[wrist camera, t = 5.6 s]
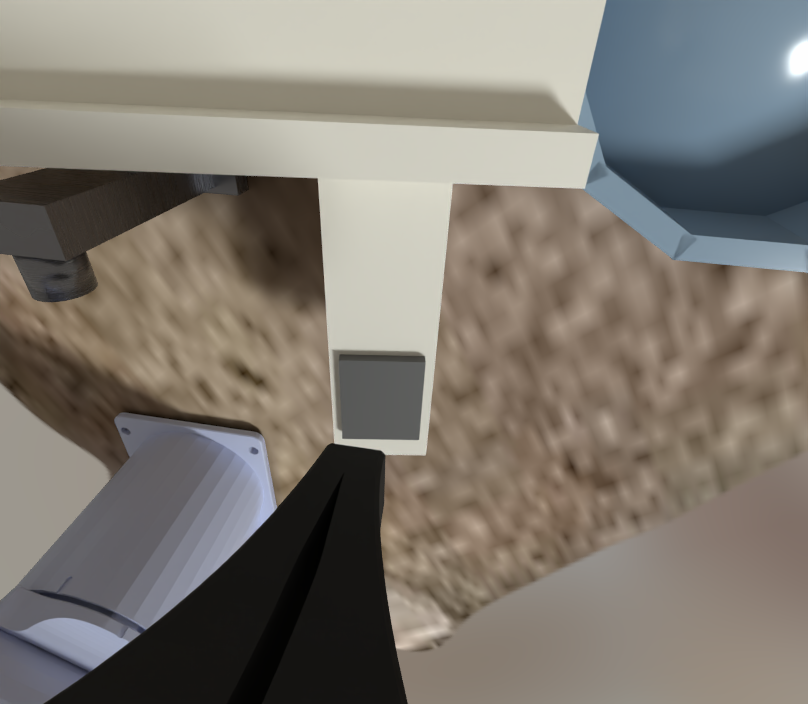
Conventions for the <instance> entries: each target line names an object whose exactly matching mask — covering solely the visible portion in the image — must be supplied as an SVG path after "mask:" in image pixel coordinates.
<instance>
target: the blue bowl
mask: <svg viewBox="0 0 808 704" xmlns="http://www.w3.org/2000/svg"><path fill="white" fill-rule="evenodd" d="M578 125H579V126H582V127H584V128H587V129H589V130H591V131H594V132H596V133H598V134H599V136H598V140H597V144H596V148H595V151H594V155H593V159H592V163H591V167H590V171H589V175H588V178H587V182H586V186H585V189H583V190H584V191H586V192H587V193H588V194H590V195H591V196H592V197H593V198H595V199H596V200H597V201H599V202H600V203H601V204H602V205H604V206H605V207H606V208H608V209H609V210H610V211H612V212H613V213H614V214H615V215H617V216H618V217H619V218H621V219H622V220H623V221H624V222H626V223H627V224H628V225H630V226H631V227H632V228H633V229H635V230H636V231H637V232H639V233H640V234H641V235H643V236H644V237H645V238H646V239H648V240H649V241H650V242H652V243H653V244H654V245H655V246H657V247H658V248H659V249H661V250H662V251H663V252H664V253H666V254H667V255H668V256H670V258H671V259H672V260H682V261H693V262H703V263H714V264H724V265H735V266H745V267H756V268H766V269H777V270H787V271H798V272H806V273H808V0H606V4H605V8H604V13H603V17H602V21H601V26H600V30H599V34H598V39H597V43H596V47H595V51H594V56H593V60H592V64H591V69H590V73H589V77H588V82H587V86H586V90H585V94H584V99H583V103H582V107H581V112H580V116H579V120H578Z"/></svg>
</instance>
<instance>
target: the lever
mask: <svg viewBox="0 0 808 704" xmlns="http://www.w3.org/2000/svg"><path fill="white" fill-rule="evenodd" d="M605 4H606V0H0V166H14V167H40V168H66V169H92V170H117V171H143V172H169V173H195V174H220V175H246V176H272V177H298V178H318V188H319V204H320V220H321V236H322V252H323V268H324V284H325V300H326V316H327V332H328V348H329V364H330V380H331V396H332V412H333V428H334V444H341V445H347V446H354V447H361V448H368V449H375V450H381V451H382V452H383V453H384V454H385V455H426V449H427V439H428V428H429V418H430V408H431V398H432V388H433V378H434V368H435V358H436V348H437V338H438V328H439V318H440V307H441V297H442V287H443V277H444V267H445V257H446V247H447V237H448V227H449V217H450V207H451V197H452V186H453V184H478V185H504V186H529V187H555V188H581V189H585V186H586V182H587V178H588V175H589V171H590V167H591V163H592V159H593V155H594V151H595V148H596V144H597V140H598V136H599V134H598V133H596V132H594V131H591V130H589V129H587V128H584V127H582V126H579V125H578V120H579V116H580V112H581V107H582V103H583V99H584V94H585V90H586V86H587V82H588V77H589V73H590V69H591V64H592V60H593V56H594V51H595V47H596V43H597V39H598V34H599V30H600V26H601V21H602V17H603V13H604V8H605Z"/></svg>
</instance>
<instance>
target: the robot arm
mask: <svg viewBox="0 0 808 704" xmlns="http://www.w3.org/2000/svg"><path fill="white" fill-rule="evenodd" d="M114 421H115V424H116V427H117V429H118V431H119V434H120V436H121V438H122V441H123V443H124V445H125V448H126V450H127V452H128V455H129V457H130V458H129V459H128V460H127V461H126V463H125V464H124V465H123V466H122V467H121V468H120V469H119V471H118V472H117V473H116V474H115V475H114V476H113V477H112V478H111V480H110V481H109V482H108V483H107V484H106V485H105V487H103V489H102V490H101V491H100V492H99V493H98V494H97V496H96V497H95V498H94V499H93V500H92V501H91V502H90V503H89V505H88V506H87V507H86V508H85V509H84V510H83V511H82V512H81V514H80V515H79V516H78V517H77V518H76V519H75V520H74V522H73V523H72V524H71V525H70V526H69V527H68V528H67V530H65V532H64V533H63V534H62V535H61V536H60V537H59V539H58V540H57V541H56V542H55V543H54V544H53V545H52V546H51V547H50V549H49V550H48V551H47V552H46V553H45V554H44V555H43V556H42V558H41V559H40V560H39V561H38V562H37V563H36V565H35V566H34V567H33V568H32V569H31V570H30V571H29V572H28V574H27V575H26V576H25V577H24V578H23V579H22V580H21V581H20V582H19V584H18V585H17V586H16V587H15V588H14V589H13V590H11V591H10V592H9V593H8V594H7V595H6V596H5V597H4V598H3V599H1V600H0V704H408V703H407V699H406V694H405V689H404V685H403V680H402V676H401V671H400V667H399V662H398V658H397V652H396V647H395V641H394V636H393V630H392V625H391V619H390V612H389V606H388V600H387V593H386V586H385V578H384V569H383V560H382V550H381V537H380V528H381V519H382V513H383V507H384V486H385V454H384V453H383V452H382V451H381V450H375V449H368V448H361V447H354V446H347V445H341V444H334V443H331V444H329V445H328V446H327V447H326V448H325V449H324V451H323V452H322V454H321V455H320V456H319V458H318V459H317V460H316V462H315V463H314V464H313V466H312V467H311V468H310V469H309V471H308V472H307V473H306V474H305V476H304V477H303V478H302V479H301V481H300V482H299V483H298V484H297V486H296V487H295V488H294V489H293V490H292V491H291V493H290V494H289V495H288V496H287V497H286V498H285V500H284V501H283V502H282V503H281V504H280V505H279V506H278V508H277V505H276V500H275V495H274V489H273V484H272V478H271V473H270V467H269V462H268V456H267V451H266V446H265V440H264V438H263V436H262V435H261V434H259V433H257V432H253V431H247V430H240V429H233V428H226V427H220V426H213V425H206V424H199V423H192V422H186V421H179V420H172V419H165V418H159V417H152V416H145V415H138V414H132V413H119V414H118V415H117V416H116V417H115V419H114Z"/></svg>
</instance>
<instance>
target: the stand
mask: <svg viewBox="0 0 808 704" xmlns="http://www.w3.org/2000/svg"><path fill="white" fill-rule="evenodd" d="M247 190H249V189H248V183H247V176H246V175H220V174H195V173H169V172H143V171H117V170H92V169H66V168H45V169H41V170H37V171H33V172H30V173H26V174H22V175H18V176H14V177H11V178H7V179H3V180H0V254H6V255H12V256H13V258H14V260H15V262H16V264H17V266H18V269H19V271H20V273H21V275H22V277H23V279H24V281H25V283H26V286H27V288H28V290H29V292H30V294H31V296H32V298H33V299H35V300H37V301H42V302H59V301H66V300H71V299H75V298H78V297H81V296H84V295H86V294H88V293H90V292H92V291H93V290H94V289H95V288H96V287H97V286H98V282H97V280H96V277H95V274H94V272H93V269H92V266H91V264H90V261H89V258H88V256H87V253H86V251H88V250H90V249H92V248H94V247H96V246H98V245H100V244H102V243H104V242H106V241H108V240H110V239H112V238H114V237H116V236H118V235H120V234H122V233H124V232H126V231H128V230H130V229H132V228H134V227H136V226H138V225H140V224H142V223H144V222H146V221H148V220H150V219H152V218H154V217H156V216H158V215H160V214H162V213H164V212H166V211H168V210H170V209H172V208H174V207H176V206H178V205H180V204H182V203H184V202H186V201H188V200H190V199H192V198H194V197H196V196H198V195H200V194H202V193H216V194H227V195H240V194H242V193H243V192H245V191H247Z"/></svg>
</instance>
